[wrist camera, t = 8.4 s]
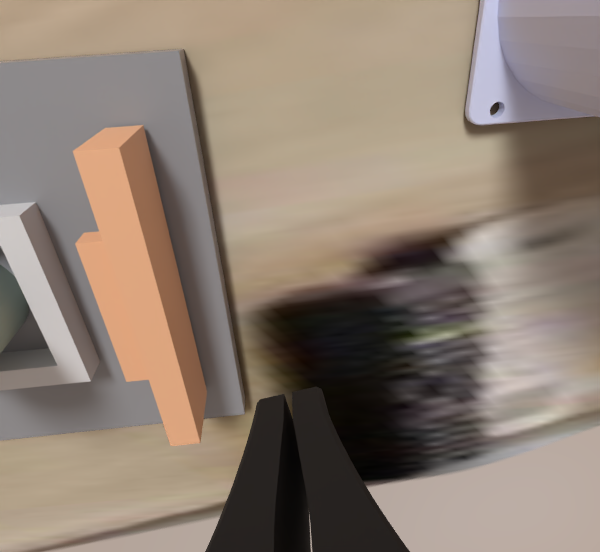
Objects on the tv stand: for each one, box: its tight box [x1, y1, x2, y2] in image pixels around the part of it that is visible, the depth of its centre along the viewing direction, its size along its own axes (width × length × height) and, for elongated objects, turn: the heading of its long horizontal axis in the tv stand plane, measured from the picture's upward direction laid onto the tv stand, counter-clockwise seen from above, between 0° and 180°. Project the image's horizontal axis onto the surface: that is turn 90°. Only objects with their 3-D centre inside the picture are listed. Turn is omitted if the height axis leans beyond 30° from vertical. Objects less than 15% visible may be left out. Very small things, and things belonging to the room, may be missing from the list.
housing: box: [0, 49, 245, 440], centre depth 17 cm, size 15×16×2 cm
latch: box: [73, 125, 207, 446], centre depth 15 cm, size 2×12×3 cm, turn 3°
